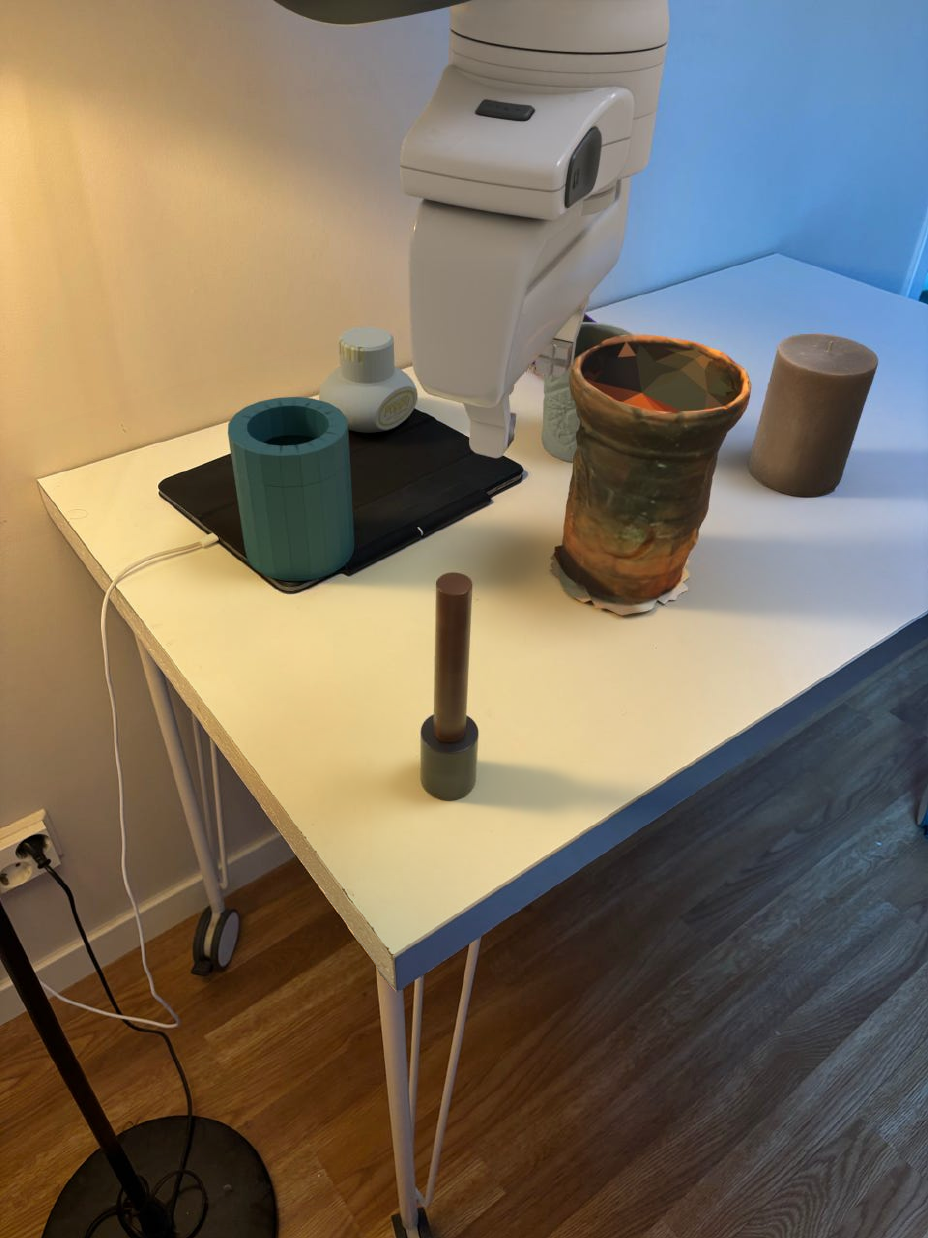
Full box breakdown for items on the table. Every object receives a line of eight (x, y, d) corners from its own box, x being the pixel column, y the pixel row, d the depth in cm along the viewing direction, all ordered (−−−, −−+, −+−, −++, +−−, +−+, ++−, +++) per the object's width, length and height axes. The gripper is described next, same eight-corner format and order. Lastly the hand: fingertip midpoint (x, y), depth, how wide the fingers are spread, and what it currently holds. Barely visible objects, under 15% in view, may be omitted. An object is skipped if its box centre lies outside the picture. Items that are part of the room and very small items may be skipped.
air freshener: (373, 392, 113) (371, 310, 107) (428, 414, 109) (428, 330, 103) (309, 427, 106) (301, 342, 100) (364, 451, 103) (360, 365, 96)
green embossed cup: (589, 414, 111) (602, 314, 103) (646, 454, 104) (664, 350, 96) (517, 435, 106) (525, 333, 99) (571, 478, 100) (584, 372, 92)
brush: (410, 787, 68) (408, 591, 56) (436, 750, 71) (440, 555, 59) (460, 808, 67) (469, 612, 55) (485, 770, 69) (498, 575, 58)
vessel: (736, 596, 86) (793, 393, 73) (598, 635, 81) (633, 426, 68) (650, 512, 96) (686, 320, 83) (522, 543, 91) (540, 344, 78)
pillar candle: (848, 500, 98) (896, 365, 89) (753, 494, 99) (790, 358, 89) (828, 452, 106) (870, 322, 96) (740, 446, 106) (772, 316, 96)
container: (223, 560, 87) (203, 435, 79) (287, 507, 94) (274, 386, 86) (315, 594, 84) (304, 467, 76) (374, 536, 91) (369, 414, 83)
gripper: (557, 60, 49) (533, 321, 58) (377, 158, 34) (383, 487, 43) (679, 76, 47) (635, 342, 56) (544, 186, 32) (514, 522, 41)
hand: (524, 407), depth 49 cm, fingers open, 8 cm apart
